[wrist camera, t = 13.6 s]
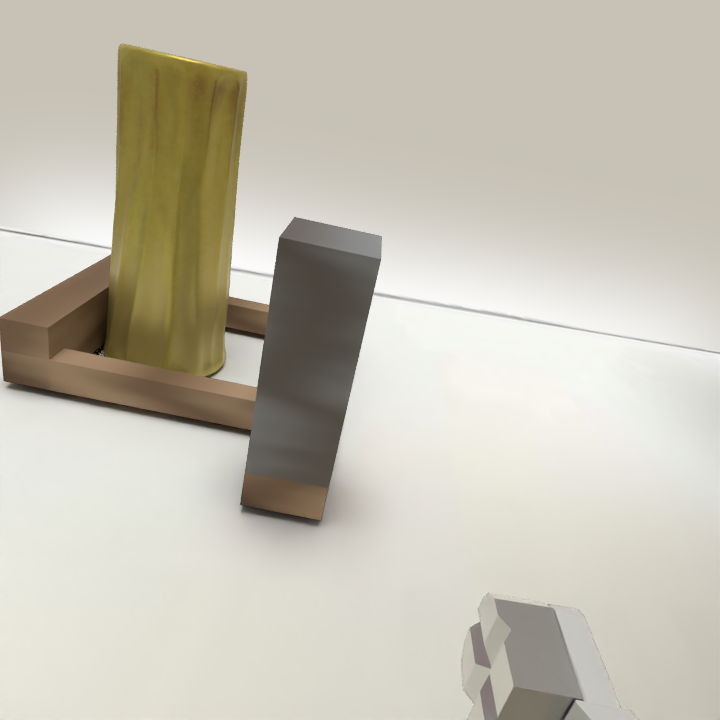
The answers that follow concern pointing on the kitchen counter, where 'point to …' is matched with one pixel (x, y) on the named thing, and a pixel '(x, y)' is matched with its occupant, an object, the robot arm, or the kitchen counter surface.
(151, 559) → the kitchen counter surface
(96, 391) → the frame
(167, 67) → the vase
